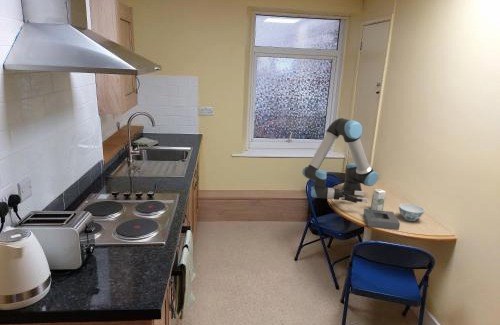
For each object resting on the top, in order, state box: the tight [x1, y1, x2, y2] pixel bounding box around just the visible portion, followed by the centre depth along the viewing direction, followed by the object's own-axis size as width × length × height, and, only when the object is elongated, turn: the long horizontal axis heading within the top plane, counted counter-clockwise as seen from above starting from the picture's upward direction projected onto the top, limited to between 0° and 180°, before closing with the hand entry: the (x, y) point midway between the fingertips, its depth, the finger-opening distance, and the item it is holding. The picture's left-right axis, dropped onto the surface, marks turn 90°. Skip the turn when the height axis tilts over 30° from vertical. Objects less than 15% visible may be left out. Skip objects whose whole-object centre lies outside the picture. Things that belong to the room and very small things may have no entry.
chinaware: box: [398, 202, 425, 222], centre depth 223 cm, size 15×15×8 cm
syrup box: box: [370, 188, 387, 211], centre depth 233 cm, size 6×6×14 cm
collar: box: [363, 208, 401, 230], centre depth 217 cm, size 18×18×4 cm
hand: (365, 196), depth 234 cm, fingers open, 13 cm apart
